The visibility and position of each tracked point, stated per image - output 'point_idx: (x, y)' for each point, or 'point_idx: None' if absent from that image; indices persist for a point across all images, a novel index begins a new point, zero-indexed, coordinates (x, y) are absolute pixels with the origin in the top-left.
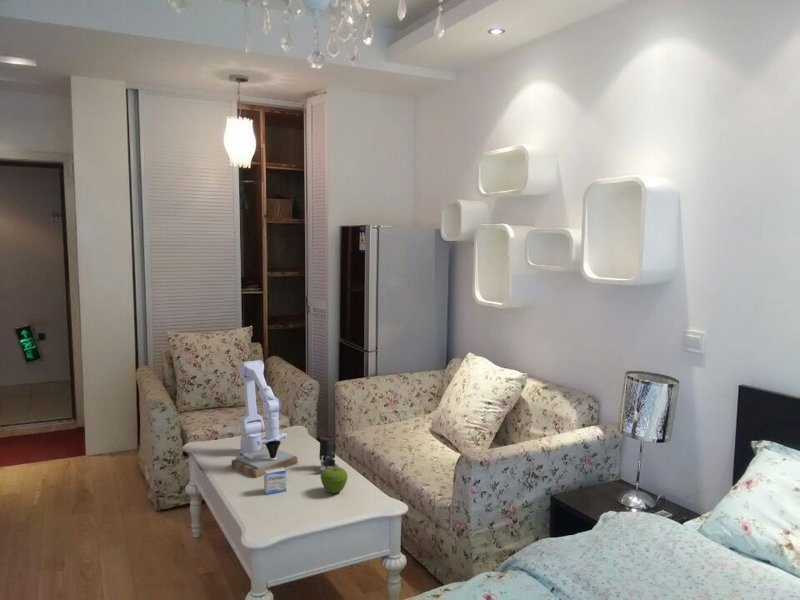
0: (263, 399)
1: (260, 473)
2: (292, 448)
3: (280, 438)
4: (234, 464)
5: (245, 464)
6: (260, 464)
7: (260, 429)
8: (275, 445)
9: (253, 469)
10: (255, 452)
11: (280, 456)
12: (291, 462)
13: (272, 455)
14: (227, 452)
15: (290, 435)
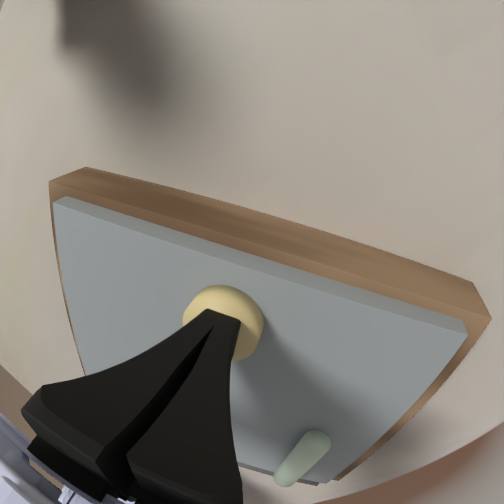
0: None
1: (445, 283)
2: (29, 312)
3: (2, 426)
4: None
5: None
6: (396, 355)
7: (85, 499)
8: (145, 440)
9: (465, 351)
10: None
11: (130, 293)
12: (112, 184)
13: (232, 349)
14: None
15: (13, 357)
